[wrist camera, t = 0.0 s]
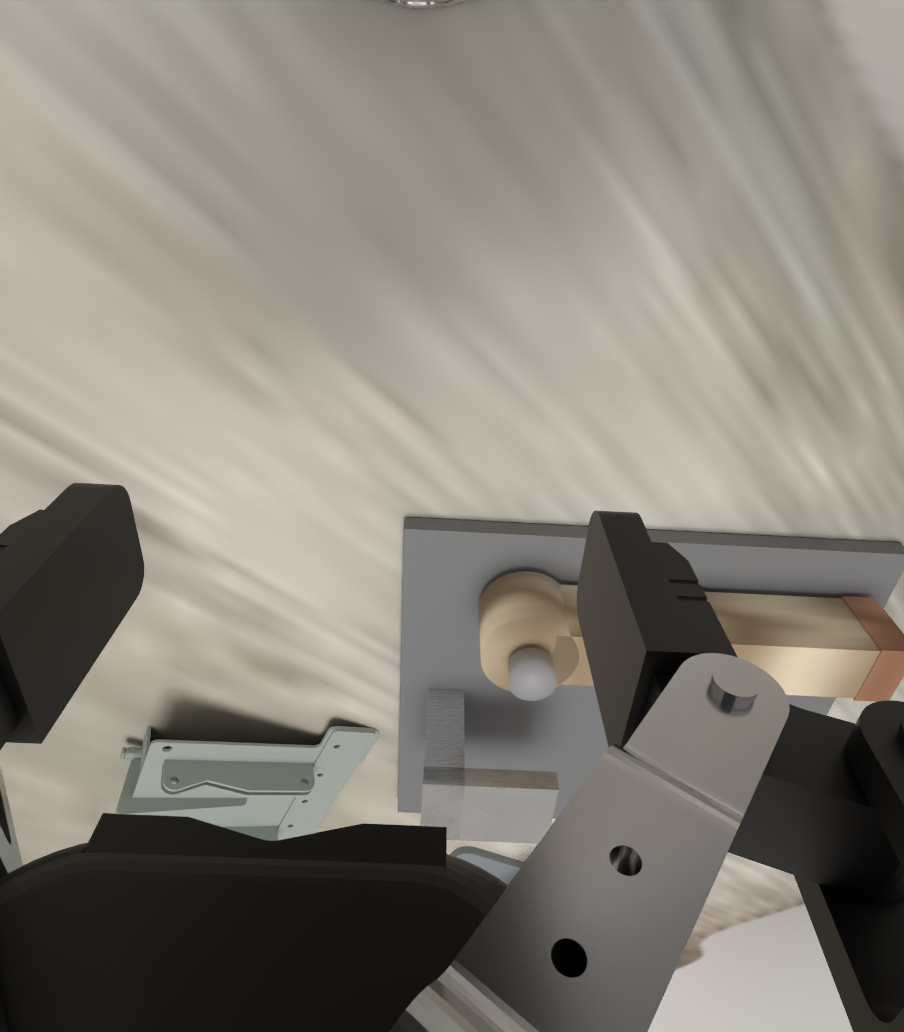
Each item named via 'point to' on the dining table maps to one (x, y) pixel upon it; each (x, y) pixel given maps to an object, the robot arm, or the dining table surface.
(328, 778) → the metal bracket
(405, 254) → the dining table surface
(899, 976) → the robot arm
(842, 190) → the dining table surface
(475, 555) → the base plate
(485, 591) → the brass latch lever
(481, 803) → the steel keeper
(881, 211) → the dining table surface
